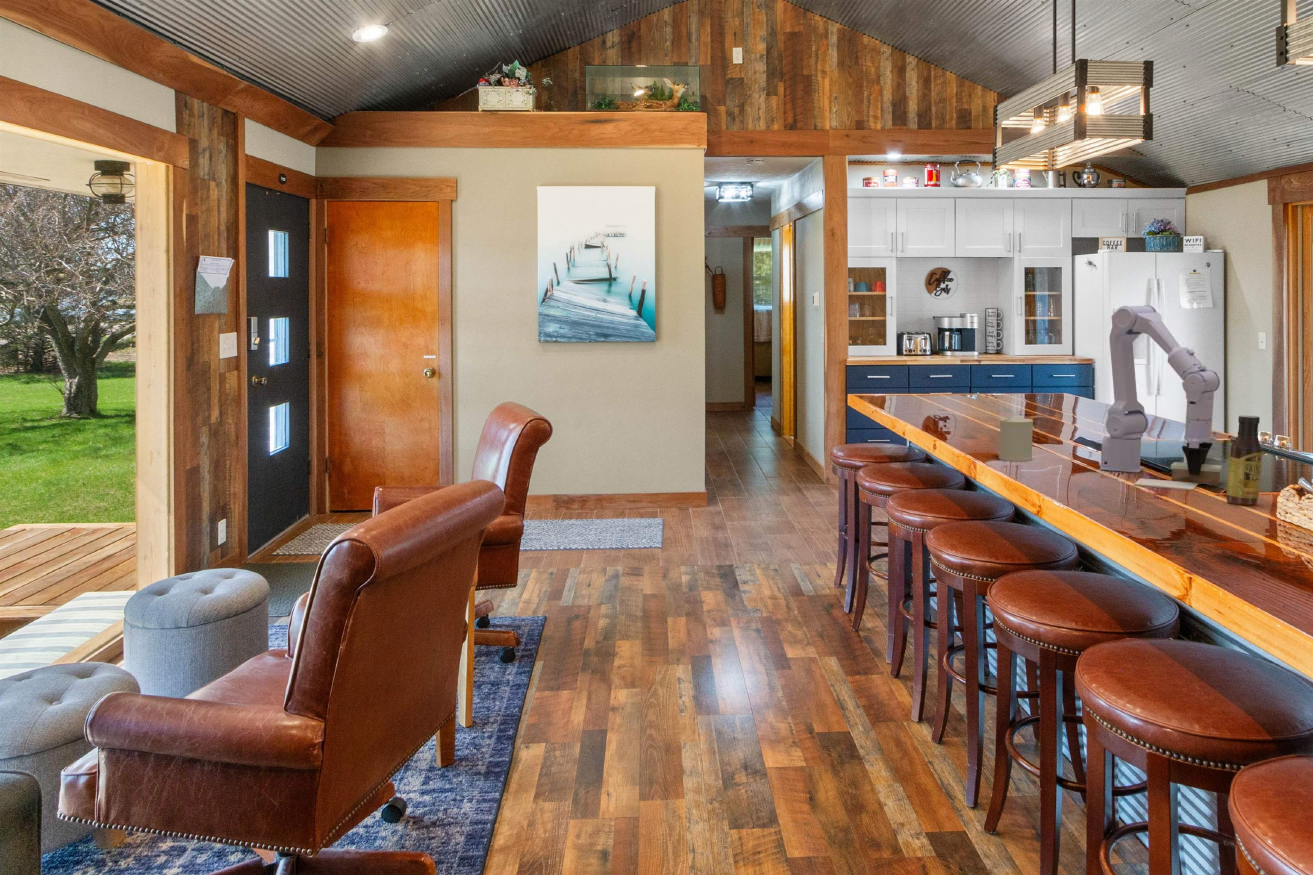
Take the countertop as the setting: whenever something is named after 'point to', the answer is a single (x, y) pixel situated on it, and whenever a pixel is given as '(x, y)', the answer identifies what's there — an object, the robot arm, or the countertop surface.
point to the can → (1016, 439)
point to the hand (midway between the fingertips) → (1195, 472)
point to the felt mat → (1166, 484)
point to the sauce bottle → (1245, 463)
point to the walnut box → (1196, 477)
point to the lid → (1203, 468)
